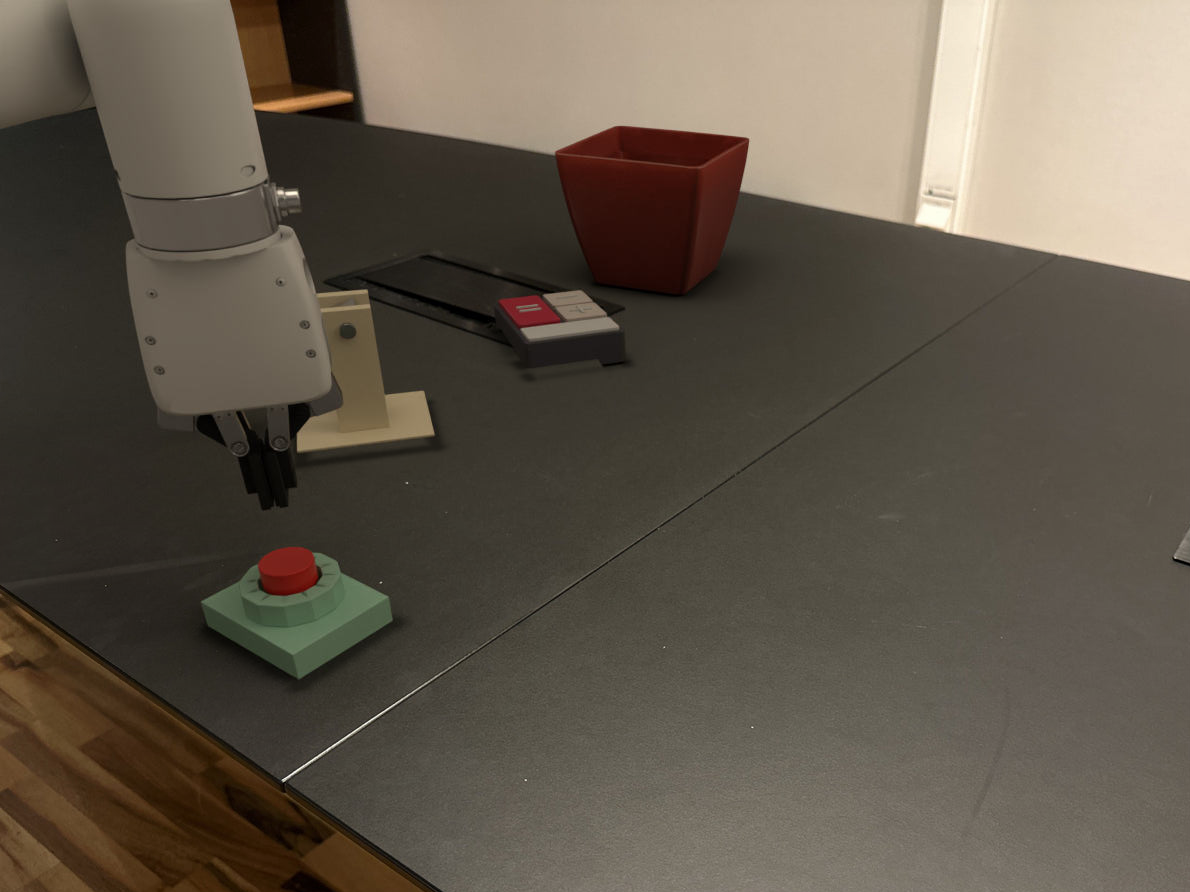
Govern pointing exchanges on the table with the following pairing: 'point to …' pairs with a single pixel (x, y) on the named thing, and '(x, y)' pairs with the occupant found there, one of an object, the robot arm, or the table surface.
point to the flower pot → (652, 203)
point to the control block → (298, 617)
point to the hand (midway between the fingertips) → (275, 498)
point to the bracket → (360, 385)
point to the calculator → (560, 329)
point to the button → (288, 571)
